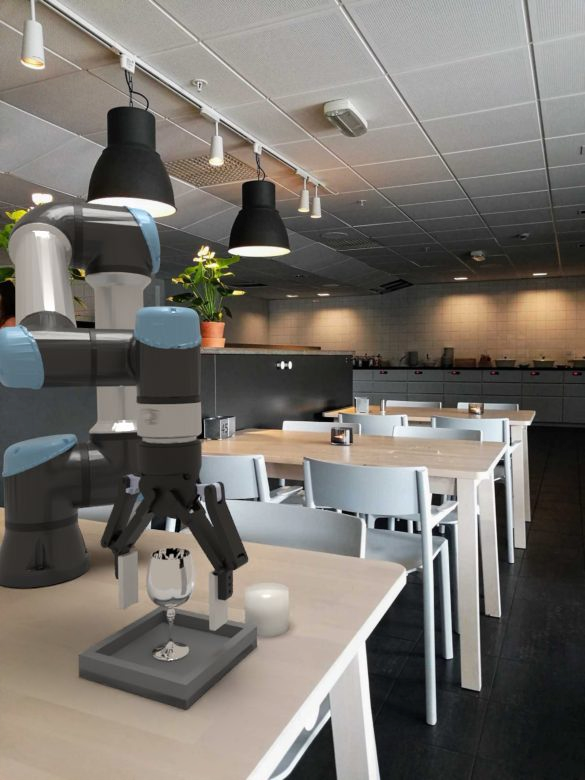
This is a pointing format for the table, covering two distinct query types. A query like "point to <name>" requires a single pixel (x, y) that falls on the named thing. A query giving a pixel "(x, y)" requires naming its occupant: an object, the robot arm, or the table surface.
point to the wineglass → (170, 592)
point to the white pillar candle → (267, 608)
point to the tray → (168, 678)
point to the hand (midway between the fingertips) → (171, 615)
